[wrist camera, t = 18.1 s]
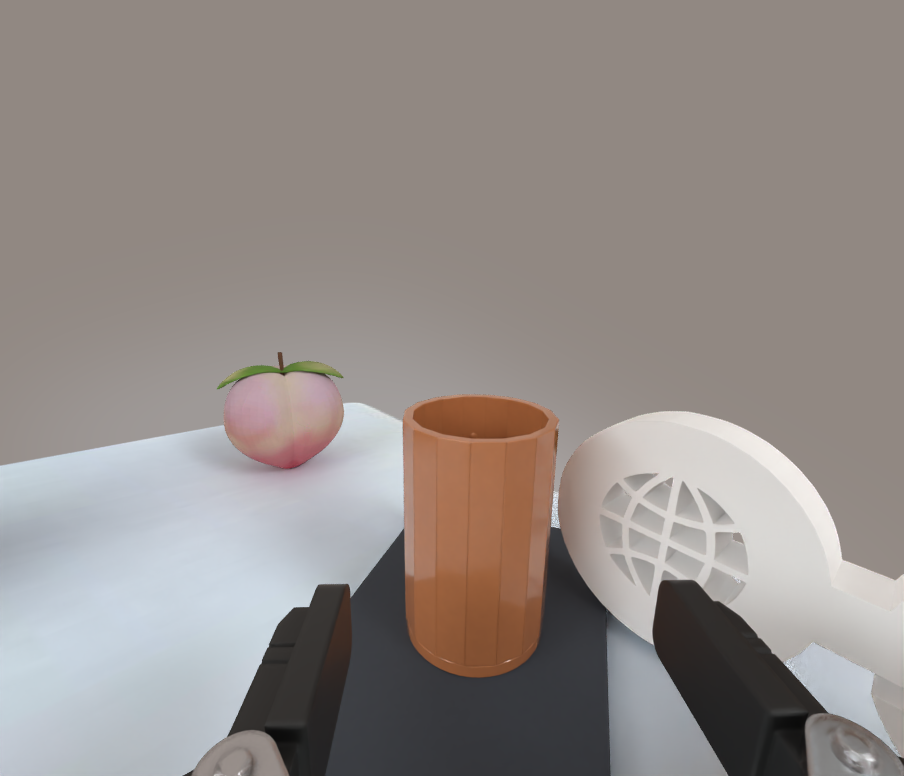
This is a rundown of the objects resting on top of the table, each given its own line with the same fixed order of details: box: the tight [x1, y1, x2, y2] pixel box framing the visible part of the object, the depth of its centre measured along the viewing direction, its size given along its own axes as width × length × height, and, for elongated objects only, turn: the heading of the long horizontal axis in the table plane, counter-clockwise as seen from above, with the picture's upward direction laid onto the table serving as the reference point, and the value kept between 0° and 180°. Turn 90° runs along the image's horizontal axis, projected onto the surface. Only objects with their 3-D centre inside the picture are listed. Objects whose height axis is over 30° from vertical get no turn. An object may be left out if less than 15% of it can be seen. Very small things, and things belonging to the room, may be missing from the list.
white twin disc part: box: [558, 411, 904, 758], centre depth 15 cm, size 22×2×10 cm, turn 42°
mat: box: [325, 527, 610, 776], centre depth 20 cm, size 12×18×1 cm, turn 162°
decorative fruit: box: [217, 352, 344, 469], centre depth 36 cm, size 9×8×10 cm
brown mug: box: [403, 395, 559, 678], centre depth 20 cm, size 9×6×10 cm
